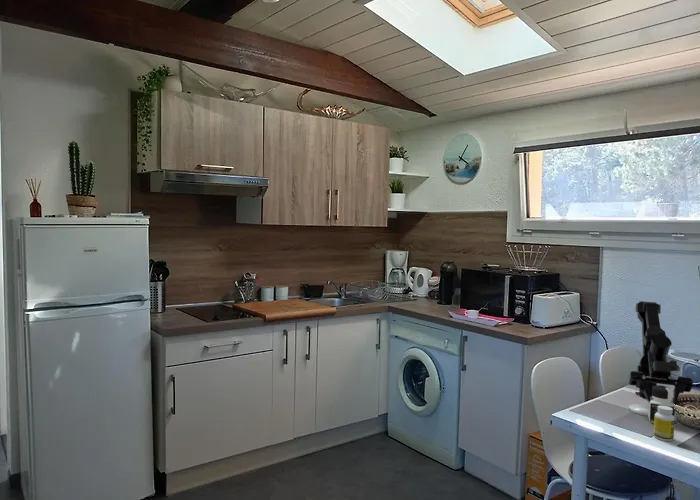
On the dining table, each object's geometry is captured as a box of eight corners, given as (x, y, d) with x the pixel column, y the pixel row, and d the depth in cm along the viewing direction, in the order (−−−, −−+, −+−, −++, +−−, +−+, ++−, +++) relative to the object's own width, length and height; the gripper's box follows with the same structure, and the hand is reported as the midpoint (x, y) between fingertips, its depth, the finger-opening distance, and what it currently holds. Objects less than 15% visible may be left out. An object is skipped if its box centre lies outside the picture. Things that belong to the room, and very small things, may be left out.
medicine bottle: (649, 422, 172) (651, 387, 171) (647, 416, 178) (649, 382, 178) (674, 427, 169) (676, 391, 168) (671, 420, 175) (673, 385, 174)
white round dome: (623, 406, 187) (623, 403, 187) (648, 407, 187) (648, 404, 187) (636, 415, 178) (636, 412, 178) (662, 416, 178) (662, 413, 178)
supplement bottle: (673, 443, 155) (675, 411, 155) (653, 439, 158) (654, 408, 158) (673, 437, 160) (675, 406, 159) (653, 433, 163) (655, 403, 162)
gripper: (631, 348, 180) (634, 387, 170) (693, 354, 173) (699, 395, 163) (627, 365, 188) (630, 403, 178) (686, 371, 180) (692, 411, 171)
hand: (662, 403), depth 172 cm, fingers closed on medicine bottle, 7 cm apart
